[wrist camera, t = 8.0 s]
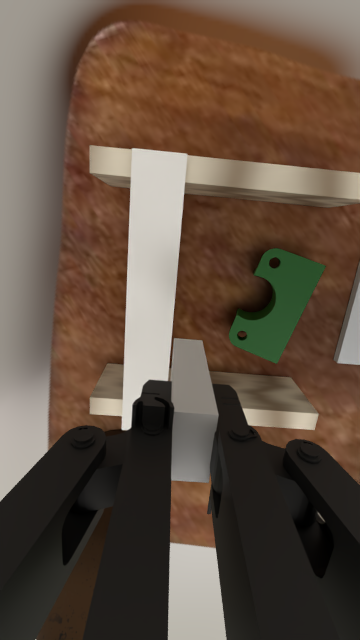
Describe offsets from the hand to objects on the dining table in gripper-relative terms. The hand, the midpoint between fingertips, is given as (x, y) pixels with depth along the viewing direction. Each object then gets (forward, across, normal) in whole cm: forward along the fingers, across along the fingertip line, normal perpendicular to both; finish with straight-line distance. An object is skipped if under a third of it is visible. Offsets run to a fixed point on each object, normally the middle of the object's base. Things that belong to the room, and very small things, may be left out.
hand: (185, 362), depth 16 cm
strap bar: (+12, +3, 0) cm, 12 cm away
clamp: (+21, -10, 0) cm, 23 cm away
